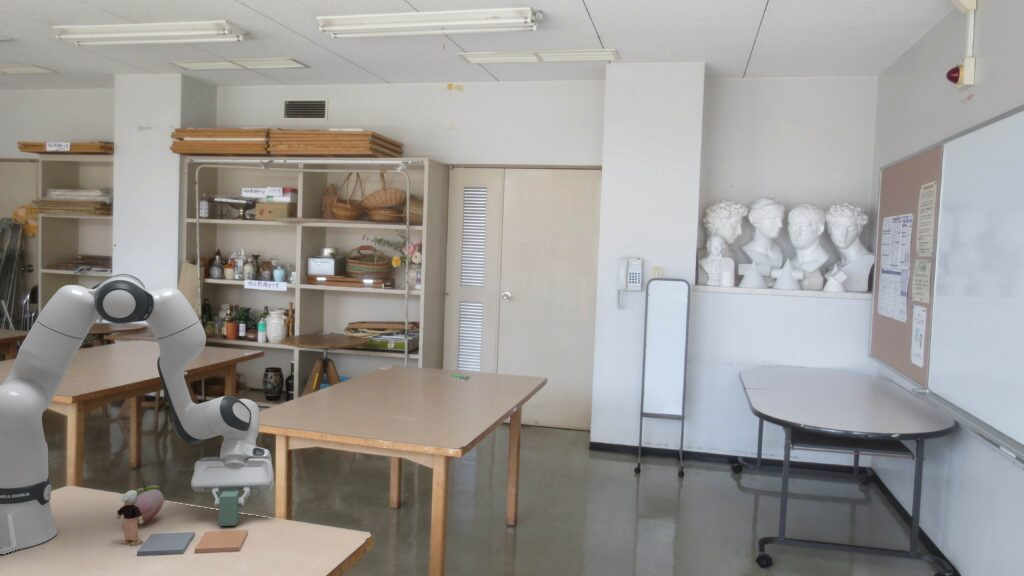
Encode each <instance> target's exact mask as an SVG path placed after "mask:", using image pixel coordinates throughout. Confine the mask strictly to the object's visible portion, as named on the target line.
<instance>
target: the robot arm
mask: <svg viewBox="0 0 1024 576" xmlns="http://www.w3.org/2000/svg"><path fill="white" fill-rule="evenodd" d="M99 319H103V320H104V321H107V322H109V323H113V324H117V325H118V324H119V325H125V324H132V323H140V322H146V323H147V325H148V326H149V328H150V329H151V331H152V333H153V335H154V337H155V339H156V341H157V343H158V347H159V354H160V355H159V357H158V358H157V362H156V368H157V371H158V375H159V379H160V382H161V385H162V388H163V392H164V394H165V397H166V399H167V403H168V405H169V409H170V412H171V414H172V415H171V416H172V419H173V427H174V431H175V434H176V435H177V436H178V438H179V439H181V440H182V441H183V442H185V443H187V444H190V445H194V444H195V445H196V444H198V443H201V442H204V441H205V440H208V439H211V438H213V437H218V436H221V437H223V441H222V443H221V447H220V453H219V456H211V457H210V456H209V457H208V456H204V457H201V458H199V459H198V460H196V462H195V464H194V467H193V471H194V472H193V474H192V478H191V482H190V487H191V489H192V491H194V493H212V496H213V497H214V499H215V500H214V507H215V508H219V496H220V494H221V493H222V492H223V491H239V492H243V494H242V496H239V497H238V501H237V505H238V506H239V507H244V506H245V502H246V500H247V499H248V497H249V496H250V494H251V491H253V492H254V491H255V492H256V491H270V490H272V488H273V487H274V484H275V483H274V482H275V480H274V479H275V478H274V477H275V474H274V468H273V464H272V463H273V462H272V460H273V459H272V455H271V452H270V450H269V449H267V448H265V447H259V446H257V443H256V441H257V438H258V435H259V431H260V423H261V422H260V420H261V418H260V417H261V415H260V408H259V406H258V404H257V403H256V402H255V401H253V400H251V399H248V398H239V399H238V398H237V397H236V396H233V395H224V396H220V397H217V398H213V399H210V400H207V401H204V402H200V403H195V402H193V400H192V398H191V395H190V391H189V389H188V386H187V383H186V382H187V381H186V380H185V370H186V368H187V367H188V366H189V365H190V364H191V363H192V362H194V360H196V359H197V357H199V356H200V354H202V352H203V351H204V349H205V346H206V342H207V335H206V331H205V329H204V327H203V324H202V323H201V320H200V319H199V317H198V315H197V312H196V311H195V310H194V308H193V307H192V305H191V304H190V302H189V301H188V299H187V298H186V296H185V295H184V293H182V292H181V290H179V289H178V288H175V287H169V286H168V287H167V286H166V287H162V288H158V289H155V290H149V289H146V287H145V285H144V283H143V281H141V280H140V279H139V278H137V277H136V276H133V275H131V274H126V273H121V274H120V273H119V274H115V275H113V276H110V277H108V278H106V279H105V280H103V281H101V282H100V283H98V284H96V285H94V286H93V287H92V288H88V287H84V286H83V285H82V286H81V285H77V284H66V285H64V286H62V287H60V288H58V289H57V291H56V292H55V293H54V294H53V295H52V297H51V298H50V299H49V300H48V302H47V303H46V304H45V305H44V306H43V308H42V310H41V311H40V313H39V314H38V316H37V317H36V319H35V321H34V323H33V324H32V326H31V329H30V330H29V332H28V333H27V335H26V337H25V338H24V340H23V342H22V343H21V345H20V347H19V349H18V352H17V355H16V357H15V359H14V362H13V365H12V366H11V369H10V371H9V372H8V375H7V376H6V378H5V380H4V381H3V382H2V383H1V384H0V554H4V555H7V554H6V553H8V554H10V553H9V552H11V553H13V552H16V551H18V549H19V550H22V549H26V548H30V547H33V546H37V545H40V544H42V543H43V544H44V543H45V542H47V541H50V539H52V538H54V537H56V535H57V534H58V529H57V527H56V524H55V521H54V516H53V513H52V508H51V506H52V505H51V497H52V496H51V495H52V483H51V482H52V481H51V476H50V475H49V446H48V443H47V441H46V438H45V432H44V427H43V426H44V425H43V418H42V417H43V413H45V411H46V410H47V409H48V408H49V406H51V403H52V401H53V399H54V397H55V395H56V393H57V392H58V390H59V388H60V385H61V383H62V381H63V379H64V378H65V376H66V374H67V371H68V369H69V367H70V365H71V364H72V362H73V360H74V358H75V357H76V354H77V353H78V351H79V349H80V347H81V346H82V344H83V342H84V340H85V339H86V337H87V335H88V333H89V331H90V330H91V328H92V327H93V325H94V324H95V323H96V322H97V321H98V320H99ZM220 492H221V493H220ZM15 550H16V551H15ZM12 551H13V552H12Z"/></svg>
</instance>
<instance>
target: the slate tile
mask: <svg viewBox="0 0 1024 576" xmlns="http://www.w3.org/2000/svg"><path fill="white" fill-rule="evenodd" d="M195 533H196V532H195V531H190V532H187V531H184V532H167V533H166V532H164V533H160V532H159V533H151V534H150V535H149V536H148V537H147V538H146V539H145V541H143V543H142V545H141V546H140V547H139V548H138V550H137V551H136V556H137V557H139V556H140V557H141V556H142V557H145V556H159V555H160V556H162V555H164V556H165V555H182V554H183V555H184V553H185V552H186V550H187V549H188V547H189V545H190V544H191V543H192V541H193V539H194V537H195V536H196V534H195Z"/></svg>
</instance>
